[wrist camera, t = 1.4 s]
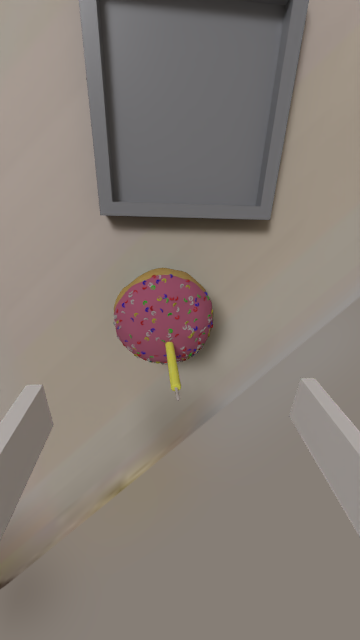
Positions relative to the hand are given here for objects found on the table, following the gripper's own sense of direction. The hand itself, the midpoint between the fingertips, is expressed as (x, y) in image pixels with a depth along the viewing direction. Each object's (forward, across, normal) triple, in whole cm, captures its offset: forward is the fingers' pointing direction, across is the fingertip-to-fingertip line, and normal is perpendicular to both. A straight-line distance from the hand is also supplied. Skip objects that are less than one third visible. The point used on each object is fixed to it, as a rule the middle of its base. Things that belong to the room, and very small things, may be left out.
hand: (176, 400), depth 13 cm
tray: (+14, +2, +15) cm, 21 cm away
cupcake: (+14, 0, 0) cm, 14 cm away
